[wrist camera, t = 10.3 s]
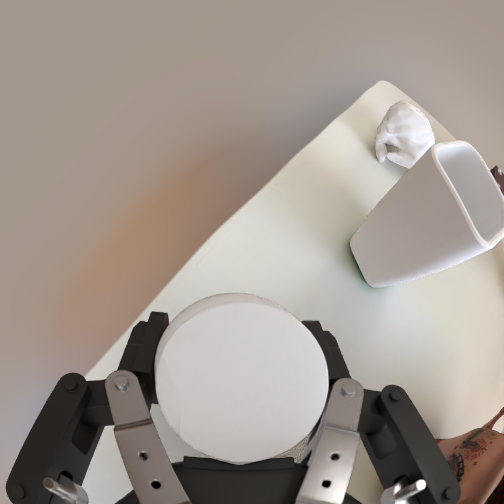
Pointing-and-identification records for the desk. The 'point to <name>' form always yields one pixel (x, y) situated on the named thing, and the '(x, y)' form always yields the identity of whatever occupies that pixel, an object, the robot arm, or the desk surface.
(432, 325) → the desk surface
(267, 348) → the pill bottle
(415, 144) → the white lumpy curved piece
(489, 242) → the cup
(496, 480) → the pink face mug
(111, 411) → the robot arm
